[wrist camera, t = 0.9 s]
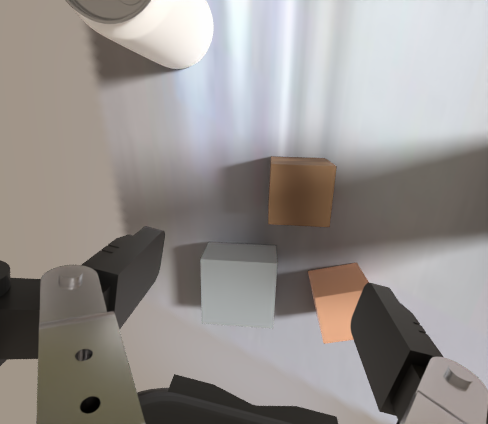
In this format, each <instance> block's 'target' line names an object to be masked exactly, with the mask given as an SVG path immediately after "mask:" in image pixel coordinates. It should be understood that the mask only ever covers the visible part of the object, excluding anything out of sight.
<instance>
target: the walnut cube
mask: <svg viewBox="0 0 488 424" xmlns="http://www.w3.org/2000/svg"><path fill="white" fill-rule="evenodd" d="M335 175H336V166H335V165H334V164H333V163H331V162H330V161H328V160H327V159H325V158H302V157H272V156H271V165H270V185H269V204H268V224H275V225H295V226H315V227H329V226H330V218H331V209H332V201H333V192H334V184H335Z"/></svg>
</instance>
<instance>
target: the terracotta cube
mask: <svg viewBox="0 0 488 424" xmlns="http://www.w3.org/2000/svg"><path fill="white" fill-rule="evenodd" d="M308 275H309V280H310V285H311V290H312V295H313V300H314V305H315V310H316V314H317V318H318V322H319V326H320V330H321V334H322V338H323V342H324V344H325V343H332V342H339V341H347V340H354V339H353V336H352V333H351V318H352V315H353V313H354V310H355V308H356V305H357V303H358V300H359V298H360V295H361V293H362V290H363V288H364V286H365V285H366V284H367V283H369V282H368V280H367V279H366V277H365V275H364V274H363V272H362V271H361V269H360V267H359V266H358V264H357V263H351V264H345V265H340V266H334V267H328V268H323V269H317V270H311V271H308Z"/></svg>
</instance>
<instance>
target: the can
mask: <svg viewBox="0 0 488 424" xmlns="http://www.w3.org/2000/svg"><path fill="white" fill-rule="evenodd" d="M66 1H67V3H68V4H69V5H70V6H71V7H72V8H73V9H74V10H75V12H76V13H77V14H78V15H79V17H80V18H81V19H82V20H83V21H84V22H85V23H86V24H87V25H88V26H89V27H91V28H92V29H93V30H95V31H96V32H98V33H99V34H101V35H103V36H104V37H106V38H108V39H110V40H112V41H114V42H116V43H118V44H120V45H122V46H124V47H126V48H128V49H130V50H132V51H134V52H136V53H138V54H140V55H142V56H144V57H146V58H148V59H150V60H152V61H154V62H156V63H158V64H160V65H162V66H165V67H168V68H172V69H183V68H187V67H190V66H192V65H194V64H196V63H198V62H199V61H200V60H201V59H202V58H203V57H204V55H205V54H206V52H207V50H208V48H209V46H210V43H211V41H212V37H213V18H212V14H211V11H210V8H209V6H208V4H207V1H206V0H66Z"/></svg>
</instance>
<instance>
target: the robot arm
mask: <svg viewBox="0 0 488 424" xmlns="http://www.w3.org/2000/svg"><path fill="white" fill-rule="evenodd" d="M164 239H165V232H164V231H162V230H158V229H154V228H150V227H146V226H145V227H143V228H142V229H141V230H140V231H139V232H137V233H136V234H135V235H134V236H132V235H126V236H123V237H120V238H117V239H115V240H114V241H112V242H111V243H110V244H109V245H108V246H106V247H104V248H103V249H102V251H99V252H98V253H97V254H95V255H94V256H93V257H91V258H90V259H89V260H87V261H86V262H85V263H83V264H82V265H65V266H60V267H57V268H54V269H51V270H49V271H47V272H46V273H45V274H44V275H43V276H42V278H41V279H23V278H10V267H9V265H8V264H7V263H5V262H3V261H0V366H1V365H2V364H3V363H4V362H5V361H6V360H7V359H38V384H37V385H38V387H37V388H38V389H37V421H36V423H37V424H338V421H337V417H335V416H331V415H328V414H324V413H320V412H316V411H312V410H309V409H305V408H300V407H297V406H255V405H252V404H250V403H248V402H246V401H244V400H242V399H240V398H238V397H236V396H234V395H232V394H231V393H229V392H227V391H225V390H223V389H221V388H219V387H217V386H215V385H213V384H209V383H205V382H201V381H198V380H194V379H190V378H186V377H182V376H179V375H175V374H174V377H173V379H172V382H171V384H170V387H169V388H158V389H150V390H145V391H141V392H138V393H137V392H136V388H135V384H134V381H133V377H132V373H131V370H130V366H129V363H128V359H127V356H126V352H125V348H124V345H123V341H122V337H121V334H120V328H121V327H122V326H123V324H124V323H125V321H126V320H127V319H128V317H129V316H130V315H131V313H132V312H133V311H134V309H135V308H136V306H137V305H138V304H139V302H140V301H141V300H142V298H143V297H144V296H145V294H146V293H147V292H148V290H149V289H150V287H151V286H152V285H153V283H154V282H155V280H156V278H157V276H158V273H159V270H160V265H161V258H162V252H163V245H164ZM351 333H352V336H353V339H354V342H355V345H356V347H357V350H358V353H359V356H360V358H361V361H362V364H363V367H364V369H365V372H366V375H367V378H368V381H369V383H370V386H371V389H372V392H373V394H374V397H375V400H376V403H377V406H378V408H379V411H380V412H384V413H388V414H392V415H395V416H397V418H398V421H397V423H396V424H488V390H487V388H486V386H485V385H484V384H483V382H482V381H481V380H480V379H479V378H478V377H477V376H476V375H475V374H473V373H472V372H471V371H470V370H468V369H467V368H465V367H464V366H462V365H460V364H459V363H457V362H455V361H452V360H450V359H447V358H444V357H443V356H442V354H441V353H440V351H439V350H438V349H437V347H436V346H435V344H434V343H433V342H432V340H431V339H430V337H429V336H428V335H427V334H426V332H425V330H424V329H423V327H422V326H420V323H419V322H418V320H417V319H416V318H415V316H414V315H413V314H412V313H411V312H410V311H409V310H408V309H407V308H405V307H404V306H403V305H402V304H400V303H399V301H398V300H397V298H396V297H395V295H394V294H393V292H392V291H391V289H390V288H388V287H385V286H381V285H377V284H373V283H367V284H366V285H365V286H364V288H363V290H362V293H361V295H360V298H359V300H358V303H357V305H356V308H355V310H354V313H353V315H352V318H351Z"/></svg>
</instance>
